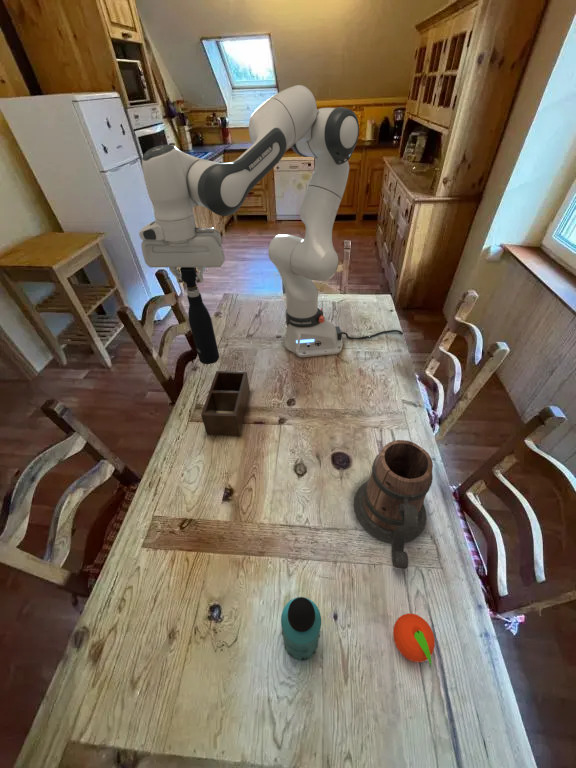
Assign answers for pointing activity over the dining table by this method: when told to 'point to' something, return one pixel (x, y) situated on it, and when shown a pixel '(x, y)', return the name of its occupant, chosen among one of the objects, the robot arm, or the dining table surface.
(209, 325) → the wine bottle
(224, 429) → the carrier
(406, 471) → the tankard
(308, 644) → the beverage bottle
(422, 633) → the clementine
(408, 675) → the dining table surface
